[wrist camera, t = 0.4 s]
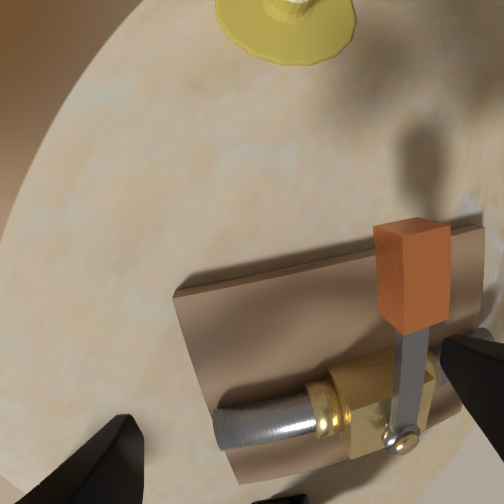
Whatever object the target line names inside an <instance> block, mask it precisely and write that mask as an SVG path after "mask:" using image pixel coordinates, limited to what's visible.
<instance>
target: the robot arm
mask: <svg viewBox="0 0 504 504" xmlns="http://www.w3.org/2000/svg"><path fill="white" fill-rule="evenodd" d="M440 365H441V368H442V370H443V371H444V373H445V375H446V376H447V378H448V380H449V381H450V383H451V385H452V386H453V388H454V390H455V392H456V393H457V395H458V397H459V398H460V400H461V402H462V403H463V405H464V406H465V408H466V409H467V410H468V412H469V413H470V415H471V416H472V417H473V419H474V420H475V421H476V423H477V424H478V426H479V427H480V428H481V430H482V431H483V433H484V434H485V436H486V437H487V438H488V440H489V441H490V443H491V444H492V446H493V447H494V449H495V450H496V451H497V453H498V454H499V456H500V457H501V459H502V460H503V462H504V344H503V343H498V342H493V341H488V340H484V339H479V338H474V337H469V336H464V335H460V334H452V335H449V336H447V337H445V338H444V339H443V341H442V347H441V355H440ZM143 491H144V437H143V434H142V432H141V430H140V429H139V427H138V425H137V423H136V422H135V420H134V418H133V416H132V415H130V414H119V415H116V416H115V417H114V418H113V419H112V420H110V421H109V422H108V423H107V424H106V425H105V426H104V427H103V428H102V429H101V430H99V431H98V432H97V433H96V434H95V435H94V436H93V437H92V438H91V439H89V440H88V441H87V442H86V443H85V444H84V445H83V446H82V447H80V448H79V449H78V450H77V451H76V452H75V453H74V454H73V455H71V456H70V457H69V458H68V459H67V460H66V461H65V462H63V463H62V464H61V465H60V466H59V467H58V468H57V469H55V470H54V471H53V472H52V473H51V474H50V475H49V476H47V477H46V478H45V479H44V480H43V481H42V482H40V484H39V485H37V486H36V487H35V488H33V489H32V490H31V491H30V492H29V493H27V494H26V495H25V496H24V497H22V498H21V499H20V500H19V501H17V502H16V503H15V504H142V500H143ZM257 504H308V499H307V495H305V494H303V495H299V496H294V497H289V498H285V499H280V500H275V501H269V502H263V503H257Z"/></svg>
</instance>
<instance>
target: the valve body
mask: <svg viewBox="0 0 504 504" xmlns="http://www.w3.org/2000/svg"><path fill="white" fill-rule="evenodd" d="M464 336H469V337H474V338H479V339H484V340H488V341H493V342H494V339H493V336H492V335H491V333H490V332H489V331H488V330H487V329H486V328H478V329H476V330H474V331H472V332H470V333H468V334H466V335H464ZM441 347H442V345H441V346H439V347H436V348H434V349H432V350H427V360H426V368H425V376H424V383H423V390H422V396H421V402H420V408H419V414H418V419H417V425H418V427H419V428H420V433H421V432H423V431H425V427H426V423H427V419H428V414H429V409H430V404H431V399H432V398H433V397H435V396H436V395H437V394H438V392H439V390H440V386H442V385H444V384H446V383H448V382H450V381H449V380H448V378H447V376H446V375H445V373H444V371H443V370H442V368H441V365H440V355H441ZM394 353H395V345H392V346H390V347H387V348H384V349H381V350H378V351H375V352H371V353H368V354H365V355H362V356H359V357H355V358H352V359H349V360H345V361H342V362H338V363H335V364H331V365H328V366H326V369H327V377H326V378H322V379H319V380H315V381H311V382H307V383H304V392H300V393H296V394H292V395H288V396H283V397H279V398H274V399H270V400H265V401H260V402H255V403H250V404H245V405H239V406H234V407H228V408H221V409H215V410H213V412H212V420H213V428H214V433H215V437H216V441H217V444H218V446H219V448H220V450H221V451H224V450H231V449H237V448H244V447H250V446H255V445H261V444H266V443H271V442H276V441H280V440H285V439H289V438H294V437H298V436H302V435H306V434H310V433H314V435H315V437H316V439H321V438H325V437H328V436H332V435H335V434H339V436H340V439H341V441H342V443H343V445H344V447H345V450H346V452H347V454H348V456H349V458H350V460H352V459H355V458H358V457H361V456H364V455H367V454H369V453H372V452H375V451H378V450H380V449H383V448H385V445H384V443H383V442H382V440H381V435H382V433H383V431H384V430H385V428H386V427H387V426H388V425H389V418H390V409H391V399H392V387H393V373H394Z"/></svg>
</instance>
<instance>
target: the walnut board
mask: <svg viewBox="0 0 504 504" xmlns="http://www.w3.org/2000/svg"><path fill="white" fill-rule="evenodd" d="M484 252H485V227H481V226H477V225H469V226H465V227H461V228H457V229H453V230H451V285H450V304H449V318H448V319H447V320H444V321H442V322H439V323H437V324H434V325H432V326H429V339H428V350H432V349H434V348H436V347H439V346H441V345H442V341H443V339H444V338H445V337H447V336H449V335H452V334H460V335H466V334H468V333H470V332H472V331H474V330H476V329H478V325H479V318H480V310H481V300H482V289H483V275H484ZM172 299H173V303H174V306H175V310H176V313H177V317H178V320H179V323H180V327H181V330H182V333H183V336H184V339H185V343H186V346H187V349H188V352H189V355H190V358H191V361H192V364H193V367H194V370H195V373H196V376H197V379H198V382H199V385H200V387H201V390H202V393H203V396H204V399H205V401H206V404H207V407H208V409H209V412H210V415H211V417H212V412H213V410H215V409H221V408H228V407H234V406H239V405H245V404H250V403H255V402H260V401H265V400H270V399H274V398H279V397H283V396H288V395H292V394H296V393H300V392H304V383H307V382H311V381H315V380H319V379H322V378H326V377H327V369H326V366H328V365H331V364H335V363H338V362H342V361H345V360H349V359H352V358H355V357H359V356H362V355H365V354H368V353H371V352H375V351H378V350H381V349H384V348H387V347H390V346H392V345H395V327H394V326H392V325H391V324H390V323H389V322H388V321H387V320H386V319H385V318H384V317H383V316H381V315H380V314H379V313H378V288H377V270H376V256H375V248H373V249H368V250H364V251H360V252H355V253H351V254H346V255H342V256H338V257H333V258H329V259H324V260H319V261H315V262H310V263H306V264H301V265H296V266H292V267H287V268H282V269H278V270H273V271H268V272H264V273H259V274H254V275H249V276H244V277H240V278H235V279H230V280H225V281H220V282H215V283H210V284H205V285H200V286H195V287H190V288H185V289H180V290H175V293H174V295H173V298H172ZM461 407H462V402H461V400H460V398H459V397H458V395H457V393H456V392H455V390H454V388H453V386H452V385H451V383H450V382H448V383H446V384H444V385H442V386H440V390H439V392H438V394H437V395H436V396H435V397H433V398H432V399H431V404H430V409H429V414H428V419H427V423H426V427H425V429H427V428H429V427H432V426H434V425H436V424H438V423H440V422H442V421H444V420H446V419H448V418H449V417H451V416H453V415H455V414H457V413H459V412H460V410H461ZM225 453H226V455H227V458H228V460H229V462H230V465H231V467H232V469H233V472H234V474H235V476H236V479H237V481H238V483H239V485H240V484H247V483H253V482H259V481H265V480H270V479H276V478H281V477H285V476H290V475H294V474H299V473H303V472H307V471H311V470H315V469H318V468H322V467H326V466H329V465H333V464H336V463H339V462H343V461H346V460H349V459H350V458H349V456H348V454H347V452H346V450H345V447H344V445H343V443H342V441H341V439H340V436H339V434H335V435H332V436H328V437H325V438H321V439H316V437H315V435H314V433H310V434H306V435H302V436H298V437H294V438H289V439H285V440H280V441H276V442H271V443H266V444H261V445H255V446H250V447H244V448H237V449H231V450H225Z"/></svg>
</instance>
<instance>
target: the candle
mask: <svg viewBox="0 0 504 504" xmlns="http://www.w3.org/2000/svg"><path fill="white" fill-rule="evenodd" d="M215 7H216V19H217V21H218V22H219V24H220V25H221V27H222V29H223V30H224V32H225V33H226V35H227V37H228V38H229V40H231V41H232V42H234V43H235V44H237V45H238V46H239V47H241V48H242V49H244V50H245V51H246V52H248V53H249V54H250V55H252V56H254V57H258V58H261V59H264V60H267V61H270V62H273V63H276V64H279V65H313V64H316V63H319V62H322V61H324V60H327V59H330V58H333V57H335V56H336V55H337V54H338V53H339V52H340V51H341V50H342V49H343V48H344V47H345V46H346V45H347V44H348V43H349V42H350V41H351V38H352V34H353V30H354V27H355V23H356V20H355V16H354V11H353V7H352V3H351V0H215Z"/></svg>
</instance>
